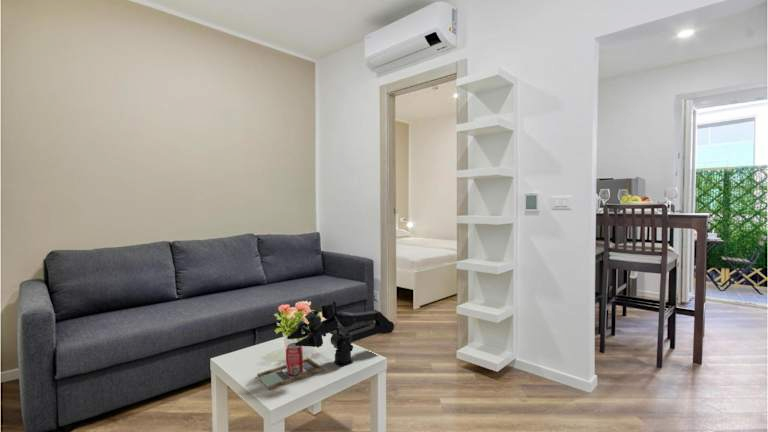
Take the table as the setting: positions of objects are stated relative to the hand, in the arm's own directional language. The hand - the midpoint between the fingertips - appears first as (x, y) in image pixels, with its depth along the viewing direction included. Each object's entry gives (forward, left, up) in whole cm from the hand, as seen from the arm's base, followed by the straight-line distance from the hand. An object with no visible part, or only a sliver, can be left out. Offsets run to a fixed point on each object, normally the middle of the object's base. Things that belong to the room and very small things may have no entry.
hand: (291, 341), depth 152 cm
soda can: (-3, -5, -16) cm, 17 cm away
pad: (+7, -5, -16) cm, 18 cm away
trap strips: (-4, -5, -16) cm, 17 cm away
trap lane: (-1, -5, -16) cm, 17 cm away
